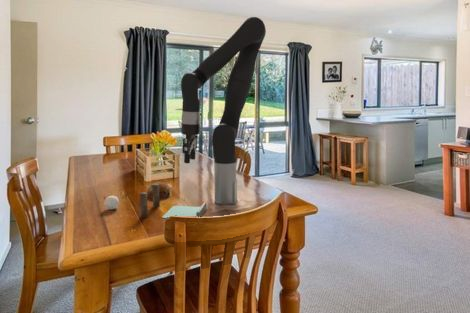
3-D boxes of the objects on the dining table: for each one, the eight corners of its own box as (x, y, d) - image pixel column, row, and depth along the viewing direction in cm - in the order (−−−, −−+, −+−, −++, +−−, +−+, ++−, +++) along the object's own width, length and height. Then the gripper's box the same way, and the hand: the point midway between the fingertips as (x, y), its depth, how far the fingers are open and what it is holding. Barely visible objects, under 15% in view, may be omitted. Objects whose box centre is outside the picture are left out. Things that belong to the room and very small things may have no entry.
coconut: (163, 199, 166) (158, 183, 167) (176, 194, 160) (171, 177, 161) (146, 204, 159) (141, 187, 160) (159, 199, 152) (153, 181, 153)
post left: (148, 215, 134) (147, 192, 132) (146, 217, 131) (145, 194, 130) (142, 215, 134) (141, 192, 133) (139, 217, 132) (138, 194, 130)
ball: (122, 207, 143) (121, 194, 142) (115, 211, 138) (114, 198, 137) (109, 206, 144) (108, 193, 143) (102, 211, 139) (101, 197, 138)
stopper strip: (206, 208, 142) (206, 202, 141) (199, 218, 130) (199, 212, 130) (204, 208, 142) (203, 202, 141) (196, 218, 130) (196, 212, 130)
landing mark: (207, 207, 143) (207, 207, 143) (198, 219, 129) (198, 219, 129) (173, 206, 145) (173, 205, 145) (161, 218, 131) (161, 217, 131)
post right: (160, 205, 146) (159, 184, 144) (158, 207, 144) (157, 185, 142) (154, 204, 146) (153, 183, 145) (152, 206, 144) (151, 185, 142)
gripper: (195, 124, 138) (194, 165, 141) (203, 121, 152) (202, 158, 155) (176, 123, 139) (176, 163, 142) (186, 120, 153) (185, 157, 156)
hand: (189, 161), depth 149 cm, fingers open, 8 cm apart
